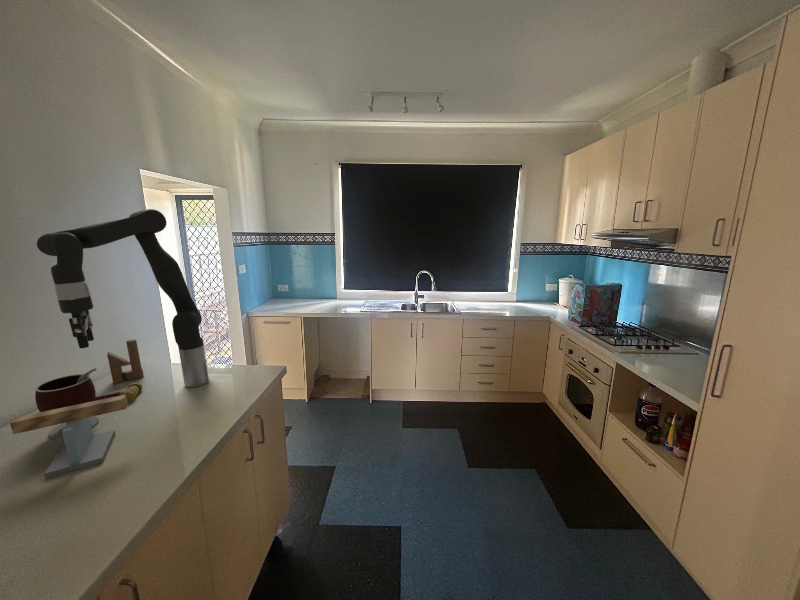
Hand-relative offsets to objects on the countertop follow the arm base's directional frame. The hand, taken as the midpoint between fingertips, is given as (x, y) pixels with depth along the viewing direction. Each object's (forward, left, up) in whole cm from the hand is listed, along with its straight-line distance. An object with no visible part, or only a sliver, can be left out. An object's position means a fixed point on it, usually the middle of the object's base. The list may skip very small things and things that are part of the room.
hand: (87, 344), depth 106 cm
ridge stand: (+2, +17, -30) cm, 34 cm away
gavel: (+4, -22, -31) cm, 38 cm away
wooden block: (0, -42, -30) cm, 52 cm away
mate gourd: (+8, -3, -30) cm, 31 cm away
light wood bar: (+2, +17, -18) cm, 24 cm away
